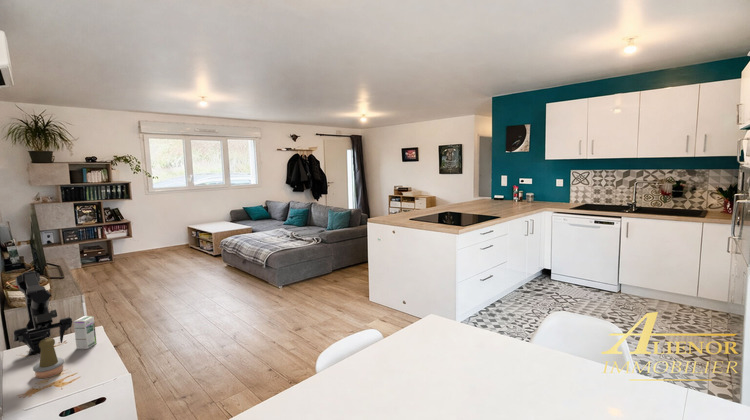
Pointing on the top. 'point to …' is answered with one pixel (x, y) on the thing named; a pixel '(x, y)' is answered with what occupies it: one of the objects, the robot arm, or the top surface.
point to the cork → (47, 353)
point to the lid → (40, 369)
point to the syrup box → (85, 332)
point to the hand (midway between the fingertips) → (47, 346)
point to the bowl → (49, 372)
